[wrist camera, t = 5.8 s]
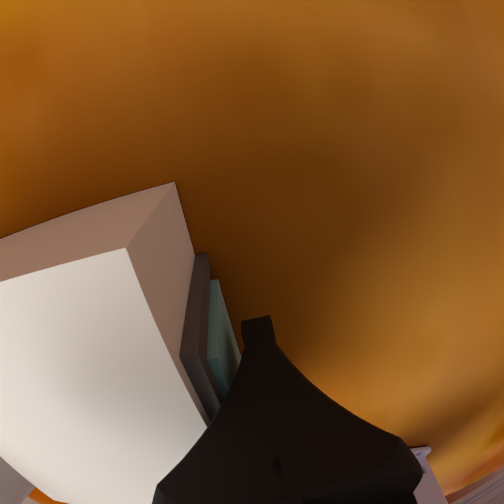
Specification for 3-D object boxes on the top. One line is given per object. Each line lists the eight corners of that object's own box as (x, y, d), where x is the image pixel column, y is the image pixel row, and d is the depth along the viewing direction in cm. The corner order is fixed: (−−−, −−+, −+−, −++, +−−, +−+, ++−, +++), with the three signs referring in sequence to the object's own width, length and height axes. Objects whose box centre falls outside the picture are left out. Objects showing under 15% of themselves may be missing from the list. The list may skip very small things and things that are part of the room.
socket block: (186, 178, 10) (149, 242, 5) (254, 407, 14) (268, 506, 9) (-28, 250, 10) (-105, 315, 5) (76, 422, 14) (53, 500, 9)
